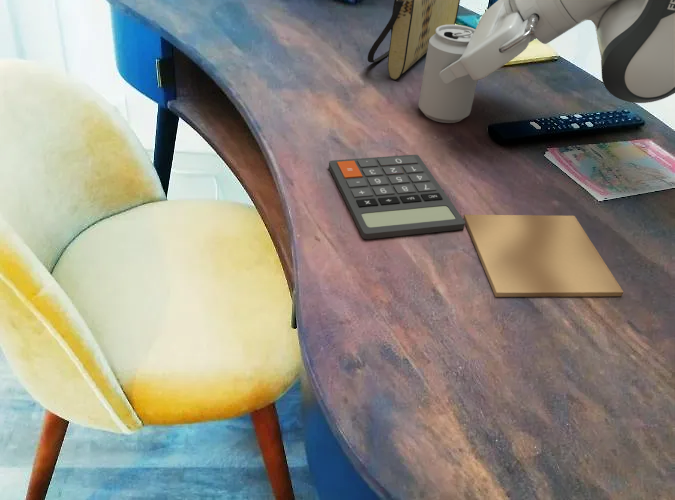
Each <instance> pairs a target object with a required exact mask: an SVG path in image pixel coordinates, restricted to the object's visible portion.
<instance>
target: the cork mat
mask: <svg viewBox="0 0 675 500" xmlns="http://www.w3.org/2000/svg"><path fill="white" fill-rule="evenodd" d="M462 218H463V219H464V221H465V227H466V229H467V232H468V233H469V236H470V238H471V241H472V243H473V246H474V248H475V251H476V253H477V256H478V258H479V261H480V263H481V265H482V268H483V271H484V273H485V275H486V278H487V280H488V282H489V285H490V287H491V290H492V292H493V294H494V297H495V298H513V297H514V298H533V297H534V298H538V297H539V298H546V297H548V298H550V297H552V298H553V297H555V298H556V297H557V298H558V297H563V298H566V297H571V298H573V297H622V296H623V295H624V292H625V291H623V289H622V287H621V286H620V284H619V282H618V281H617V279H616V277H615V276H614V275H613V273H612V272H611V270H610V268H609V267H608V266H607V264H606V262H605V261H604V259H603V258H602V256H601V255H600V253H599V251H598V249H596V246H595V245H594V243H593V242H592V240H591V239H590V238H589V236H588V234H587V232H586V231H585V230H584V228H583V226H582V225H581V224H580V222H579V221H578V219H577V217H576V216H575V215H547V214H546V215H540V214H539V215H538V214H535V215H534V214H464V215H463V217H462Z"/></svg>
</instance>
